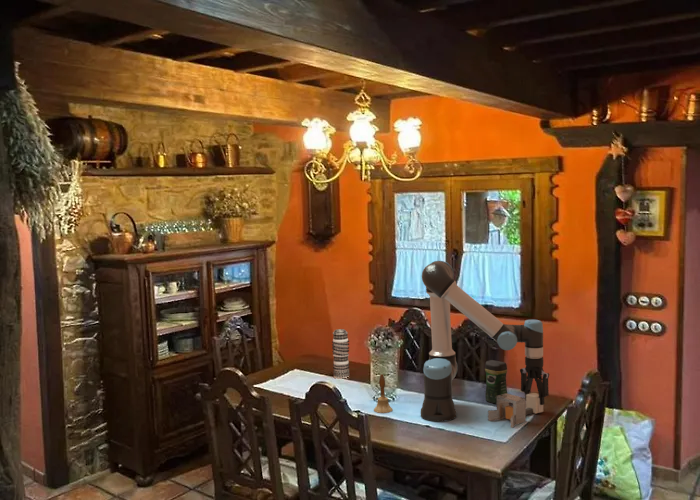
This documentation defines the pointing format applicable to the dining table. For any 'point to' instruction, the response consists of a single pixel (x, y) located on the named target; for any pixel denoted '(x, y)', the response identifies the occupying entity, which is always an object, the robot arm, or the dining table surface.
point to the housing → (518, 409)
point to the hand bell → (382, 399)
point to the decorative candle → (340, 354)
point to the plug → (530, 405)
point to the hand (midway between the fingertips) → (534, 410)
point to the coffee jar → (495, 380)
